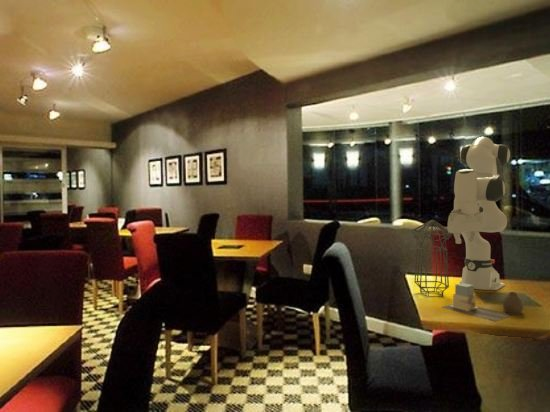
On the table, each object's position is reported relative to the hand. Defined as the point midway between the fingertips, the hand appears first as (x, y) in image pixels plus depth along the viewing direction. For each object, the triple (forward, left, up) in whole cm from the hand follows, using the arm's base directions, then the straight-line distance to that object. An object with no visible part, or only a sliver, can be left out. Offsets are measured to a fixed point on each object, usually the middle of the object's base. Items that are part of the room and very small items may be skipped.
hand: (465, 242), depth 168 cm
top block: (0, 0, -22) cm, 22 cm away
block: (0, 0, -27) cm, 27 cm away
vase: (-9, +15, -28) cm, 33 cm away
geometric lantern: (-10, -22, -28) cm, 37 cm away
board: (+2, +6, -28) cm, 28 cm away
